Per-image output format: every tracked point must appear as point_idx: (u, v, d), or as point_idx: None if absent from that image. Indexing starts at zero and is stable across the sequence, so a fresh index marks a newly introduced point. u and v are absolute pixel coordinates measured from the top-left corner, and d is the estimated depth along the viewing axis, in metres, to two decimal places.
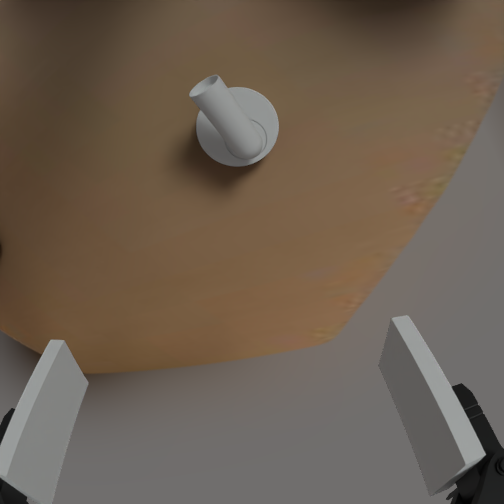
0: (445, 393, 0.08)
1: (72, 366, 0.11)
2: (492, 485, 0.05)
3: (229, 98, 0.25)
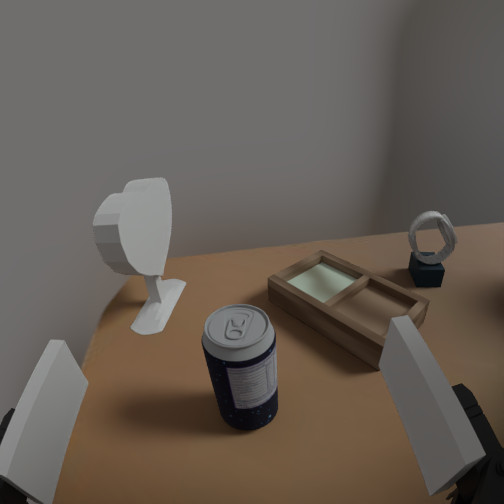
0: (445, 393, 0.08)
1: (72, 366, 0.11)
2: (492, 485, 0.05)
3: None
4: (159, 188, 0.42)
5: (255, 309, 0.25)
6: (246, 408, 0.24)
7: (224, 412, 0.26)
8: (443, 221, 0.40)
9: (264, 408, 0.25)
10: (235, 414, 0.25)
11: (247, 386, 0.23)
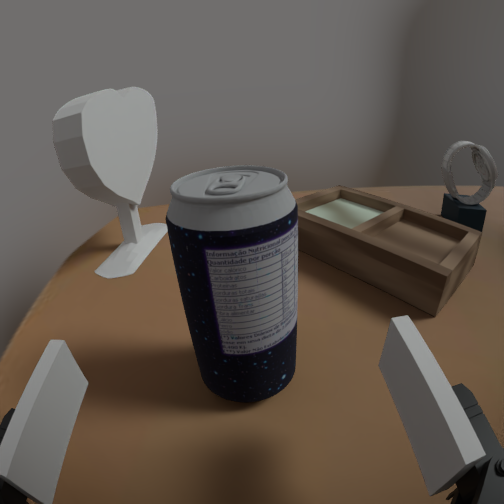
0: (445, 393, 0.08)
1: (72, 366, 0.11)
2: (492, 485, 0.05)
3: None
4: (143, 101, 0.32)
5: (261, 170, 0.15)
6: (243, 353, 0.14)
7: (205, 367, 0.16)
8: (481, 149, 0.30)
9: (276, 357, 0.15)
10: (224, 368, 0.15)
11: (246, 298, 0.13)
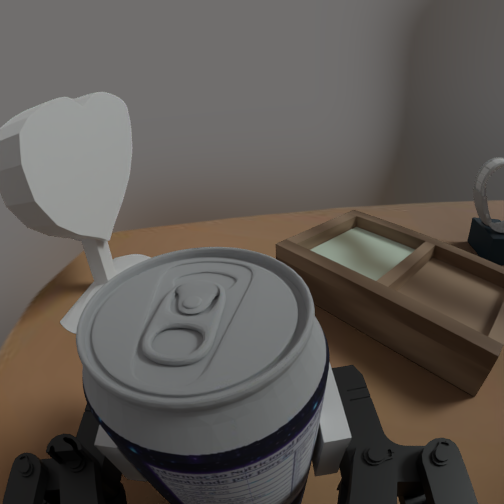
0: None
1: None
2: (364, 477, 0.06)
3: None
4: (111, 109, 0.25)
5: (258, 261, 0.08)
6: None
7: None
8: None
9: None
10: None
11: (231, 503, 0.06)
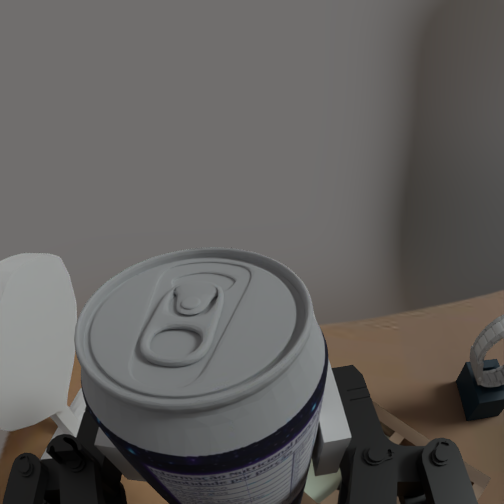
0: None
1: None
2: (363, 477, 0.06)
3: None
4: (39, 276, 0.20)
5: (257, 262, 0.08)
6: None
7: None
8: None
9: None
10: None
11: None
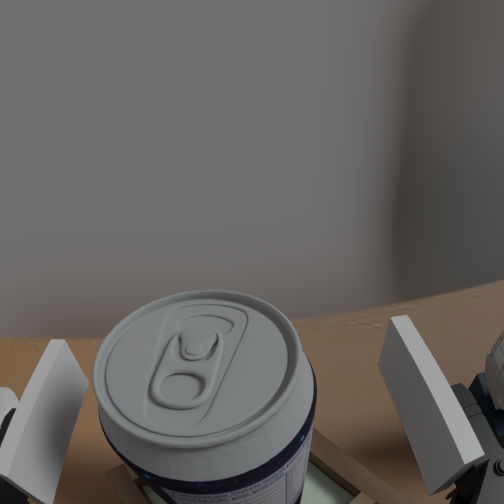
0: (444, 393, 0.08)
1: (73, 366, 0.11)
2: (491, 485, 0.05)
3: None
4: None
5: (253, 304, 0.08)
6: None
7: None
8: None
9: None
10: None
11: None
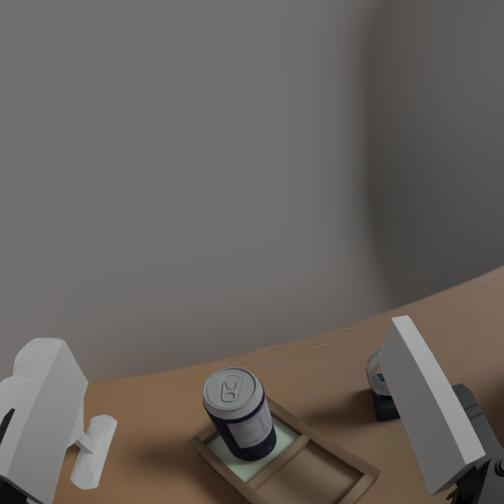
0: (445, 393, 0.08)
1: (72, 366, 0.11)
2: (492, 485, 0.05)
3: None
4: None
5: (244, 370, 0.28)
6: (248, 447, 0.27)
7: (231, 449, 0.29)
8: None
9: (264, 444, 0.28)
10: (241, 451, 0.28)
11: (246, 433, 0.26)
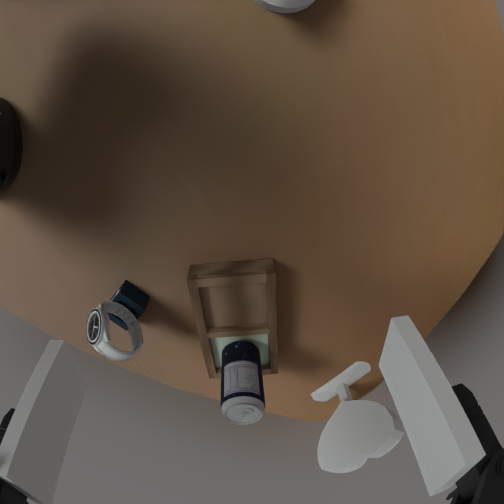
0: (445, 393, 0.08)
1: (72, 366, 0.11)
2: (492, 485, 0.05)
3: None
4: (335, 462, 0.43)
5: (226, 417, 0.37)
6: (251, 362, 0.42)
7: (260, 360, 0.44)
8: (109, 339, 0.35)
9: (240, 355, 0.42)
10: (257, 359, 0.43)
11: (250, 378, 0.39)
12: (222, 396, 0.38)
